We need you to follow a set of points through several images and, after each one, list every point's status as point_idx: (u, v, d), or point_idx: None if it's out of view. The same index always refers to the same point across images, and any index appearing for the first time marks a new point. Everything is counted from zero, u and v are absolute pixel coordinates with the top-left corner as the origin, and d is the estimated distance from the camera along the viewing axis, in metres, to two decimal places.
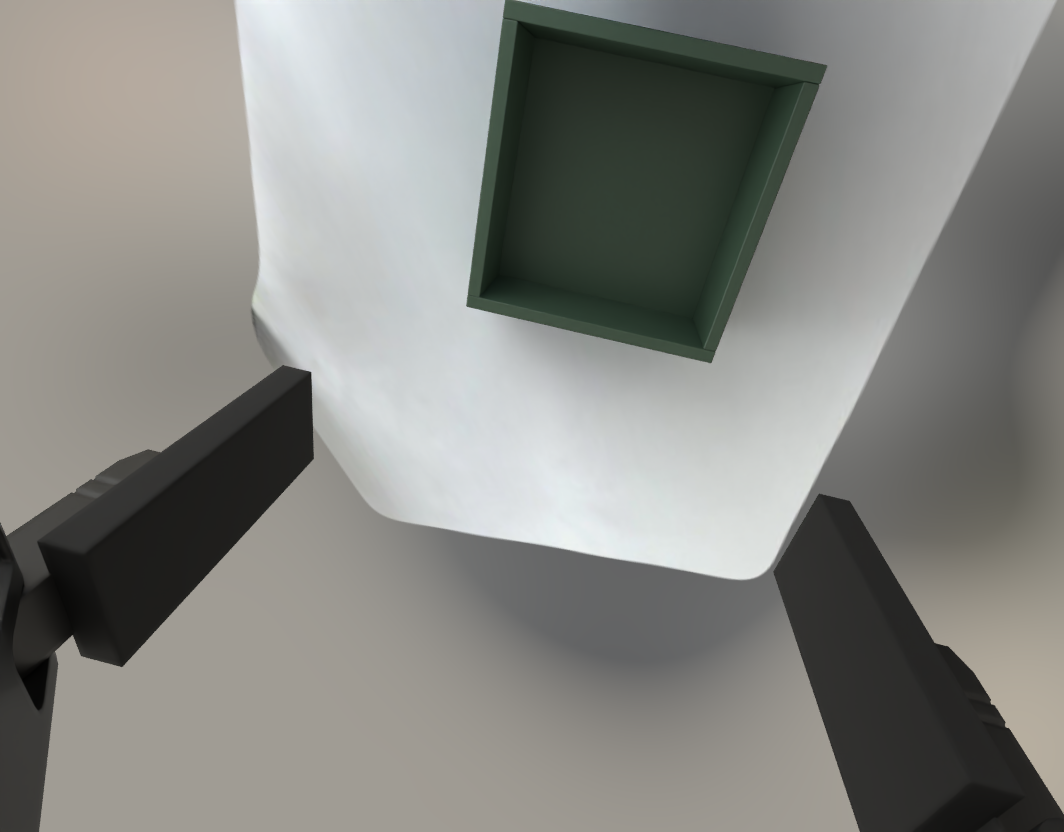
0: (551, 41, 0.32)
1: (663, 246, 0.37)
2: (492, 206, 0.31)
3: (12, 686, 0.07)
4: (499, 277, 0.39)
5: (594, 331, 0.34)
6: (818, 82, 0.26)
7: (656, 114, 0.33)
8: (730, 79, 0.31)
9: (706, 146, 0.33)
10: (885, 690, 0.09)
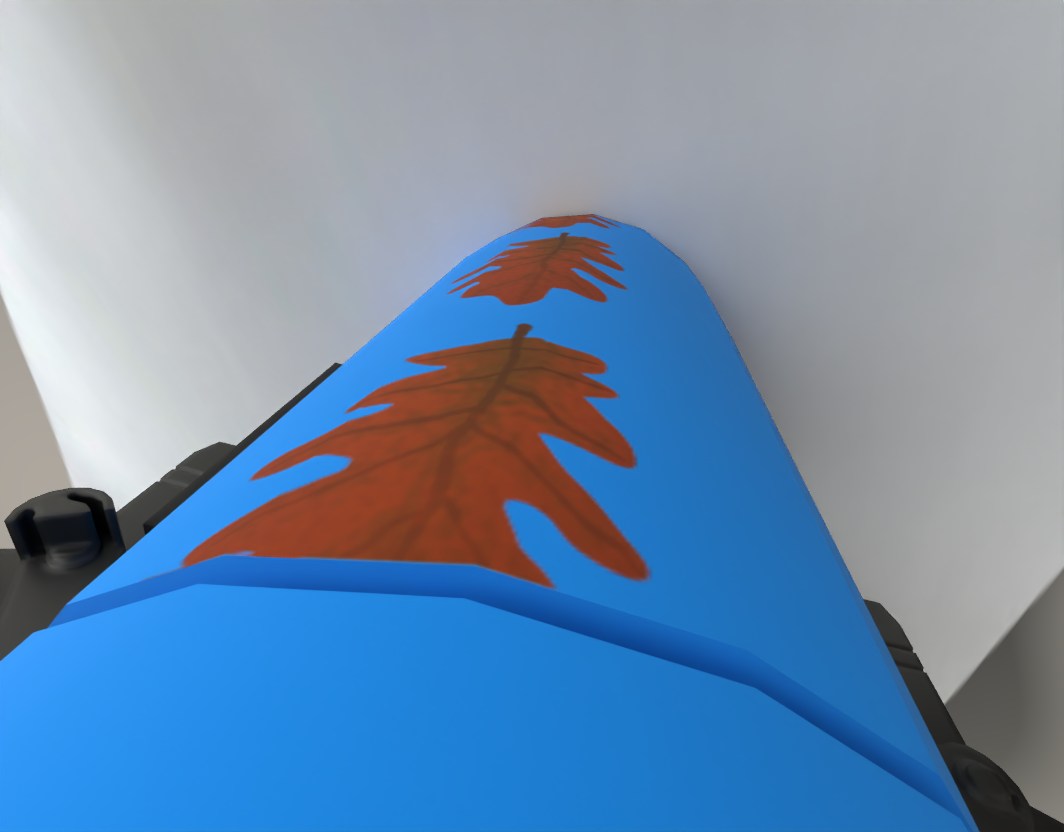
0: None
1: None
2: None
3: None
4: None
5: None
6: None
7: None
8: None
9: None
10: None
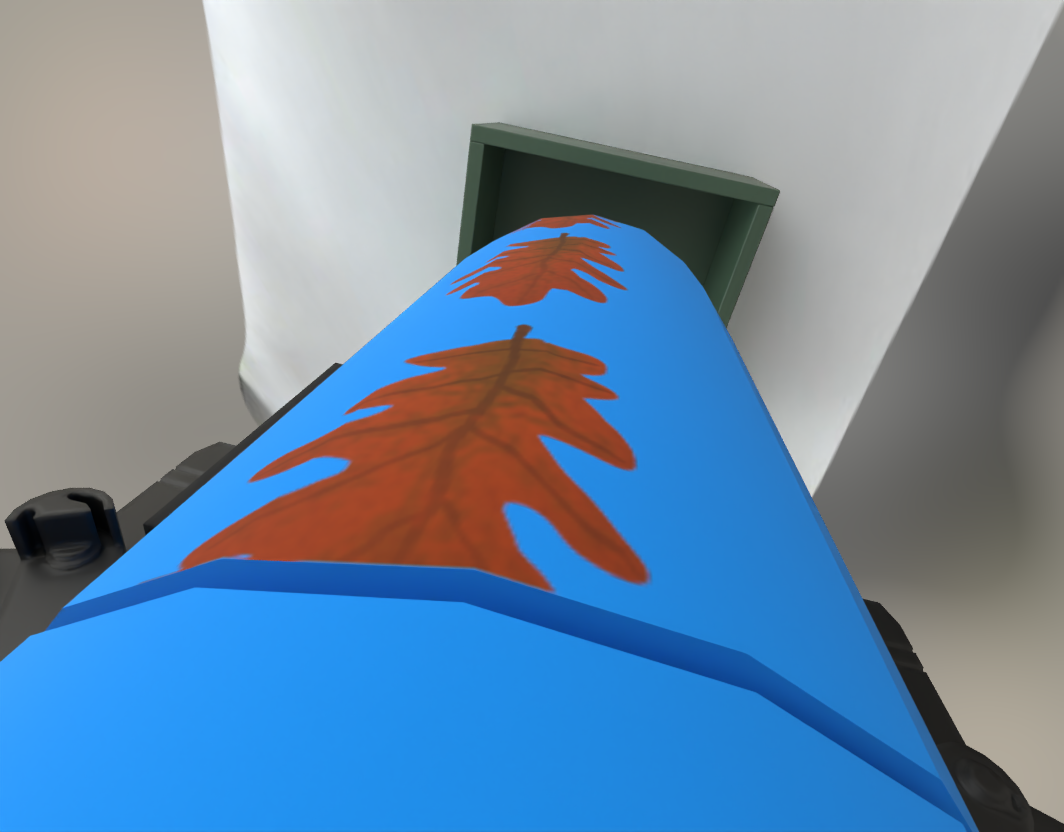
0: None
1: None
2: None
3: None
4: None
5: None
6: (772, 205, 0.27)
7: (624, 211, 0.34)
8: None
9: (673, 240, 0.34)
10: None
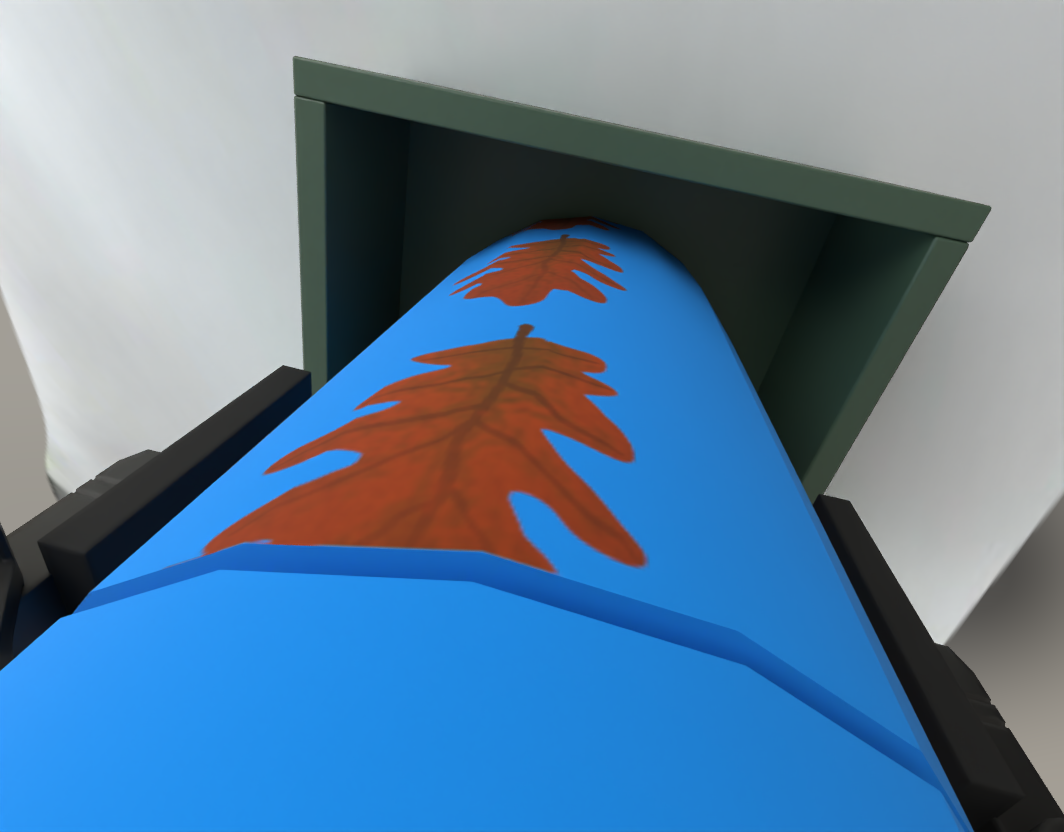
0: None
1: None
2: None
3: None
4: None
5: None
6: (968, 239, 0.12)
7: None
8: None
9: (717, 292, 0.19)
10: None
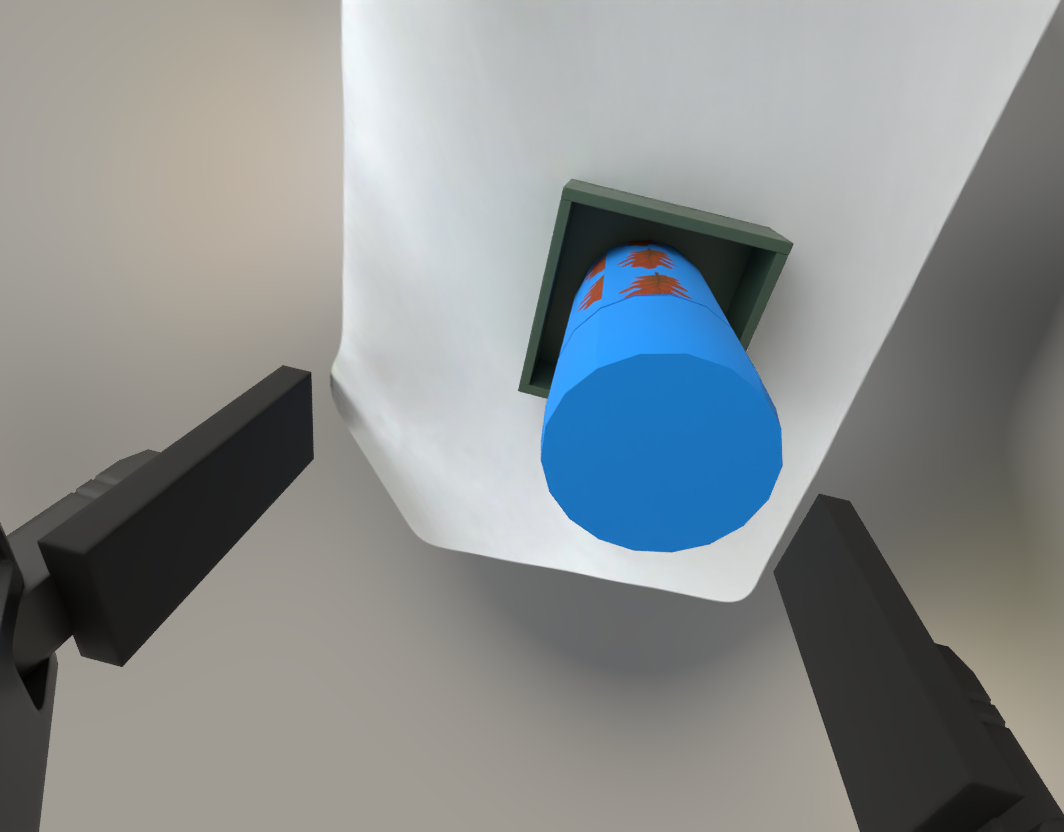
0: None
1: None
2: (543, 321, 0.41)
3: (12, 686, 0.07)
4: (540, 361, 0.48)
5: None
6: (787, 253, 0.36)
7: None
8: None
9: (705, 274, 0.44)
10: (885, 690, 0.09)
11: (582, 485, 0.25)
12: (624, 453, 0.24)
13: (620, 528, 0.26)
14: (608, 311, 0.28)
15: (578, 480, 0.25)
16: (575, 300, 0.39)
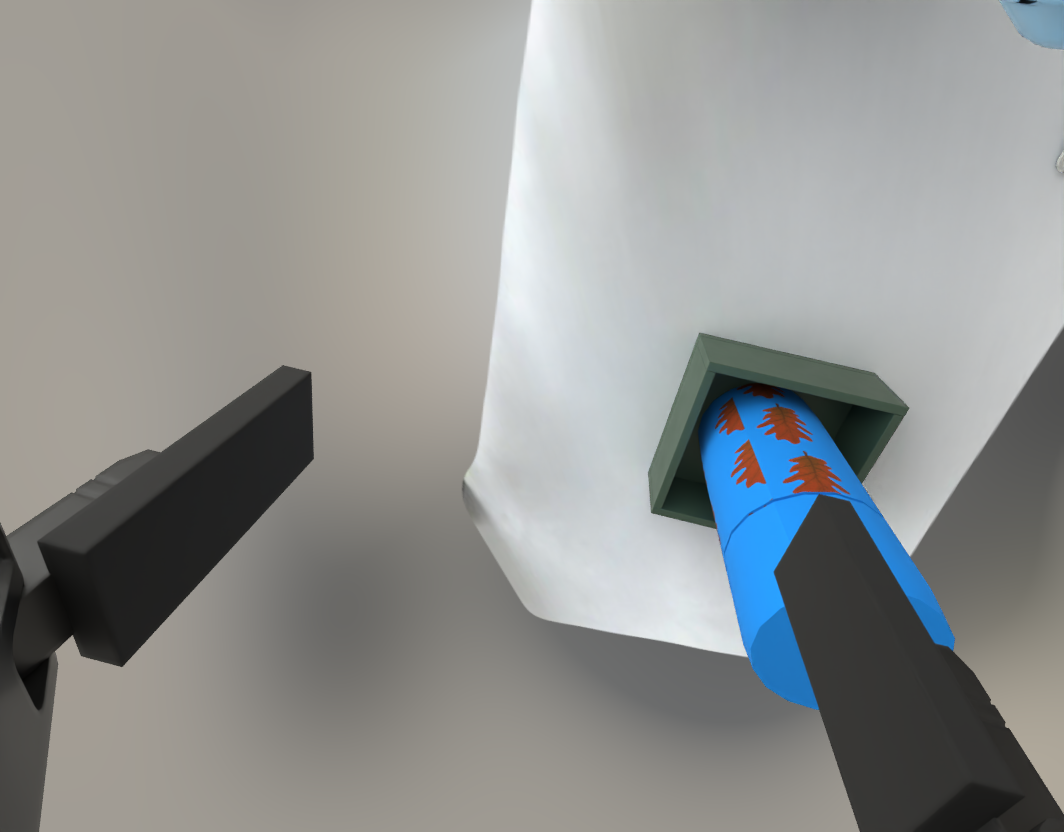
0: None
1: None
2: (680, 460, 0.48)
3: (12, 686, 0.07)
4: None
5: None
6: (903, 415, 0.43)
7: None
8: None
9: (816, 410, 0.50)
10: (885, 691, 0.09)
11: (781, 665, 0.31)
12: None
13: (807, 694, 0.32)
14: (784, 509, 0.34)
15: (778, 662, 0.31)
16: (713, 448, 0.46)
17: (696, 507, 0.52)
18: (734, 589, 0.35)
